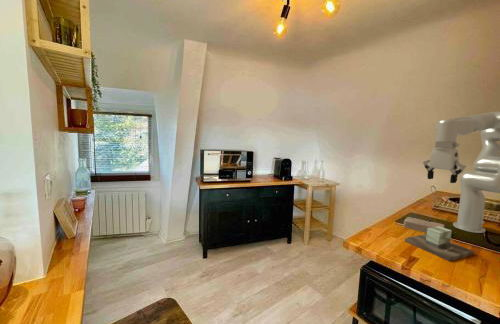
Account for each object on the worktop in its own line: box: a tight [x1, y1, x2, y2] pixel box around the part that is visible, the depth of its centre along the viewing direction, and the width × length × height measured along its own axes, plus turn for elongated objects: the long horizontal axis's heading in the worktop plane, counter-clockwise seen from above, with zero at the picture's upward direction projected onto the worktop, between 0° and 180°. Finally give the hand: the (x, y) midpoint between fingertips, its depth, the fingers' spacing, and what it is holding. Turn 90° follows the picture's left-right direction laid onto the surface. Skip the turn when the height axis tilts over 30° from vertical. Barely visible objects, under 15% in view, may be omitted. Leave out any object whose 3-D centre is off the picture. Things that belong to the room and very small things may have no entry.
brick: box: [402, 216, 445, 234], centre depth 120 cm, size 17×8×5 cm, turn 43°
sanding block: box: [426, 226, 453, 248], centre depth 100 cm, size 8×5×7 cm, turn 110°
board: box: [404, 233, 474, 262], centre depth 100 cm, size 16×18×2 cm
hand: (441, 180), depth 109 cm, fingers open, 9 cm apart
